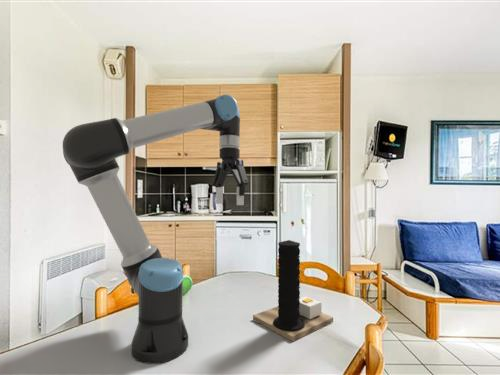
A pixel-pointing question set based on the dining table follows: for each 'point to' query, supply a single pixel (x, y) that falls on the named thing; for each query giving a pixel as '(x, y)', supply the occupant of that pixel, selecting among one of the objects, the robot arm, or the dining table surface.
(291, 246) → the handle grip
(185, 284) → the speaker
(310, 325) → the subfloor panel
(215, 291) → the dining table surface
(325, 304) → the dining table surface
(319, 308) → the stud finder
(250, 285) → the dining table surface
